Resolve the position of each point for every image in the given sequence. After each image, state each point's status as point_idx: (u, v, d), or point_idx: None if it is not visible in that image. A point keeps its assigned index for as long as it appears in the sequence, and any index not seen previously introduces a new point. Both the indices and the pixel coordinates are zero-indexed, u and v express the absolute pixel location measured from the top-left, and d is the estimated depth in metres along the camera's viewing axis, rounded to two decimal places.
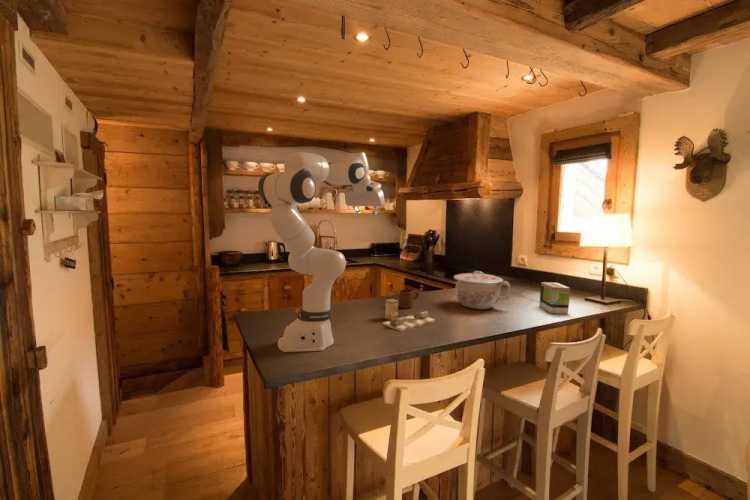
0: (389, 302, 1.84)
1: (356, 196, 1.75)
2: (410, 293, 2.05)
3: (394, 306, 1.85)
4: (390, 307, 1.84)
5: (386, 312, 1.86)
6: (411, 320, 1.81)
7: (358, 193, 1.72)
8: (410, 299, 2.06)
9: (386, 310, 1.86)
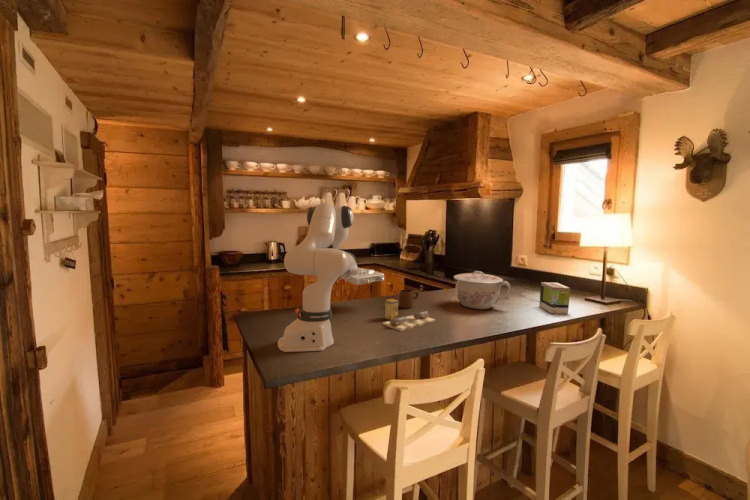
0: (389, 302, 1.84)
1: (360, 275, 1.99)
2: (410, 293, 2.05)
3: (394, 306, 1.85)
4: (390, 307, 1.84)
5: (386, 312, 1.86)
6: (411, 320, 1.81)
7: (362, 271, 2.02)
8: (410, 299, 2.06)
9: (386, 310, 1.86)
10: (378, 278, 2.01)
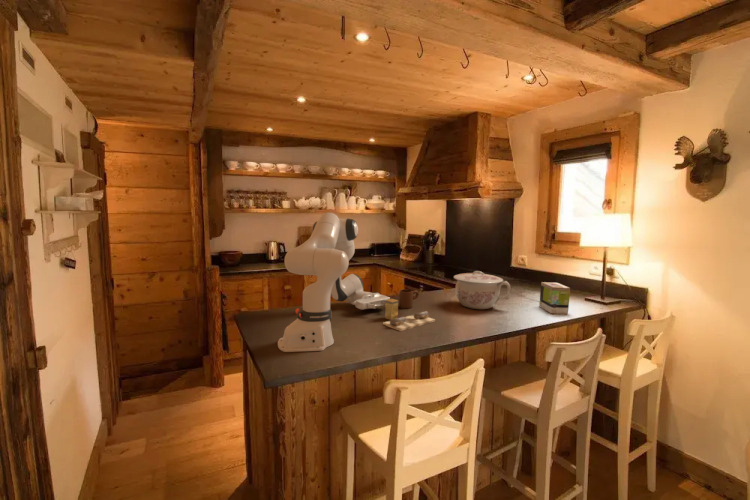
0: (389, 302, 1.84)
1: (366, 299, 1.96)
2: (410, 293, 2.05)
3: (394, 306, 1.85)
4: (390, 307, 1.84)
5: (386, 312, 1.86)
6: (411, 320, 1.81)
7: (367, 295, 1.99)
8: (410, 299, 2.06)
9: (386, 310, 1.86)
10: (384, 302, 1.98)
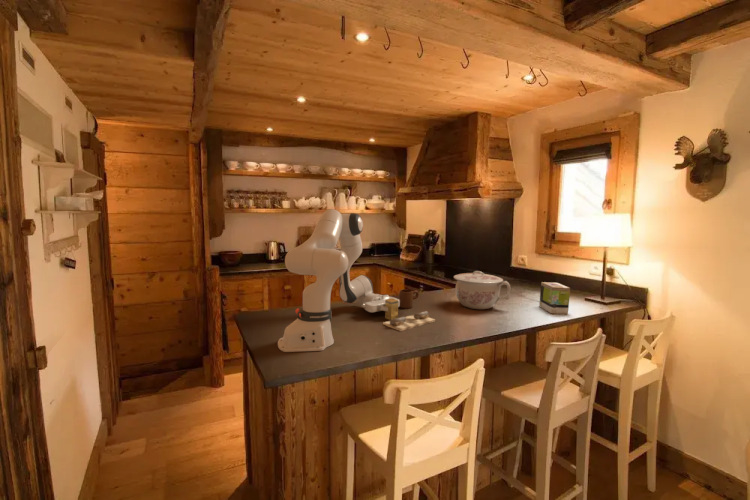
0: (389, 302, 1.84)
1: (376, 302, 1.91)
2: (410, 293, 2.05)
3: (394, 306, 1.85)
4: (390, 307, 1.84)
5: (386, 312, 1.86)
6: (411, 320, 1.81)
7: (377, 298, 1.94)
8: (410, 299, 2.06)
9: None
10: None
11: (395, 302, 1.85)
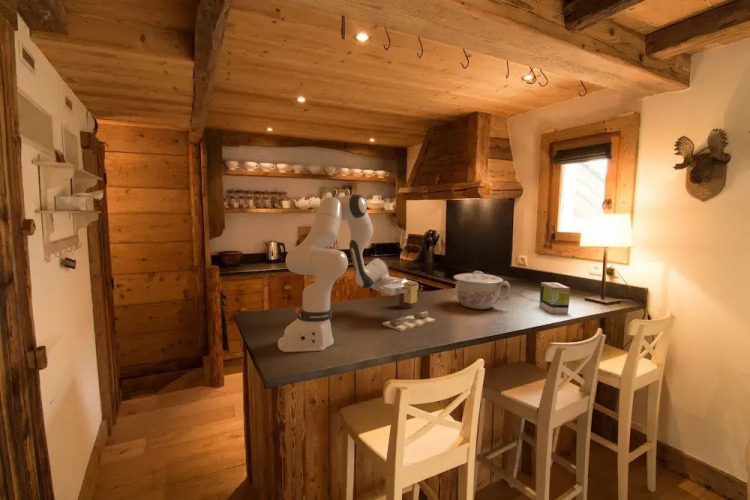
0: (408, 284, 1.77)
1: (394, 285, 1.83)
2: None
3: (414, 289, 1.77)
4: (410, 290, 1.76)
5: (405, 295, 1.79)
6: (411, 320, 1.81)
7: (395, 281, 1.86)
8: None
9: None
10: None
11: (414, 284, 1.77)
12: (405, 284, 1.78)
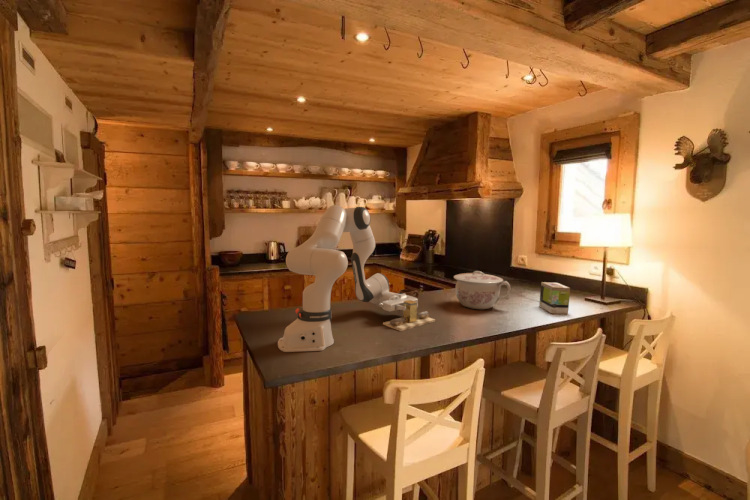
0: (408, 303, 1.78)
1: (393, 301, 1.84)
2: (410, 293, 2.05)
3: (413, 308, 1.78)
4: (409, 309, 1.77)
5: (404, 314, 1.80)
6: None
7: (394, 296, 1.87)
8: None
9: (404, 312, 1.80)
10: None
11: (414, 304, 1.78)
12: (404, 303, 1.79)
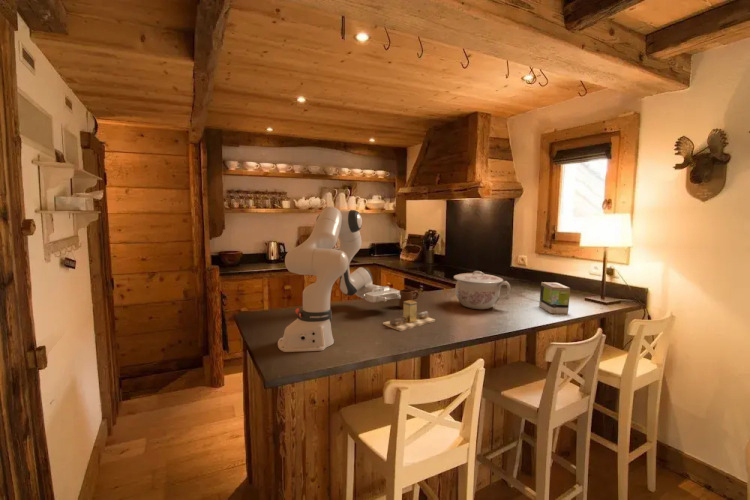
0: (408, 304, 1.78)
1: (376, 292, 1.93)
2: (410, 293, 2.05)
3: (413, 308, 1.78)
4: (409, 309, 1.77)
5: (404, 314, 1.80)
6: None
7: (377, 288, 1.96)
8: (410, 299, 2.06)
9: (404, 312, 1.80)
10: (394, 295, 1.95)
11: (414, 304, 1.78)
12: (404, 303, 1.79)
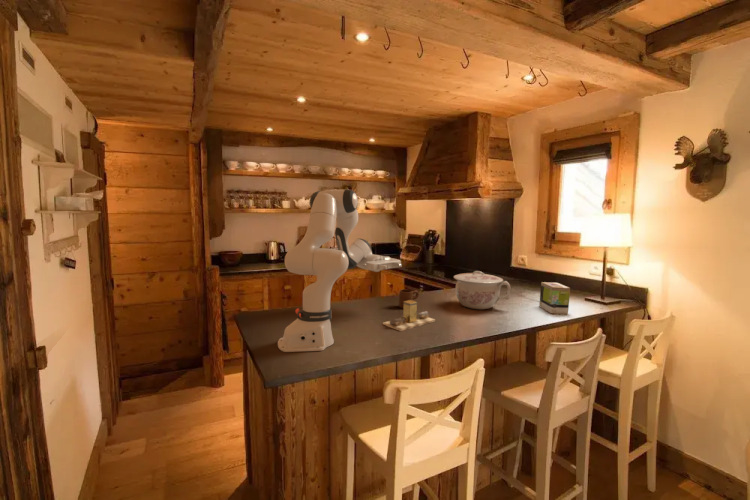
0: (408, 304, 1.78)
1: (377, 261, 1.92)
2: (410, 293, 2.05)
3: (413, 308, 1.78)
4: (409, 309, 1.77)
5: (404, 314, 1.80)
6: None
7: (378, 258, 1.95)
8: (410, 299, 2.06)
9: (404, 312, 1.80)
10: (395, 264, 1.93)
11: (414, 304, 1.78)
12: (404, 303, 1.79)
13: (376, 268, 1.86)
